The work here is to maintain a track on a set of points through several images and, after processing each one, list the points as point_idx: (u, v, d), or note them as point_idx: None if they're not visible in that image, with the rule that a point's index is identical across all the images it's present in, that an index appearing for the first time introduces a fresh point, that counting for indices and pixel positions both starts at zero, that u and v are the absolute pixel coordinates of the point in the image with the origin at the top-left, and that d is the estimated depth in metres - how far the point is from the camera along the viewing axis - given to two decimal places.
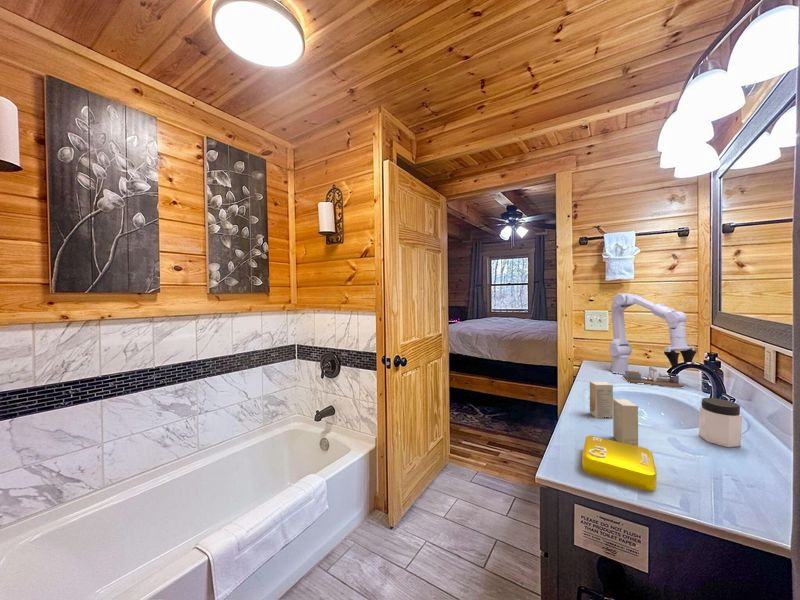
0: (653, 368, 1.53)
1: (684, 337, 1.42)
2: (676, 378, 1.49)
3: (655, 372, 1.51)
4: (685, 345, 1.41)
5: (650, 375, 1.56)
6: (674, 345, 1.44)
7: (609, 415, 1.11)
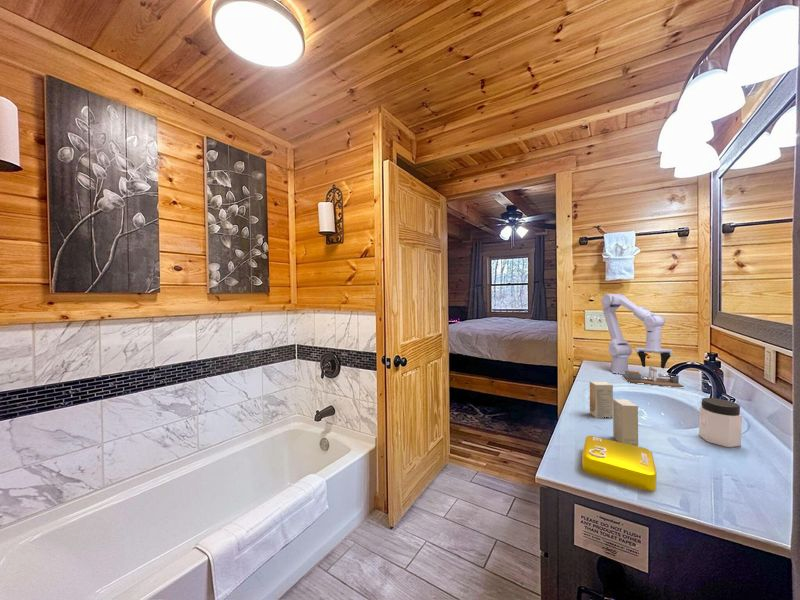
0: (653, 368, 1.53)
1: (655, 341, 1.51)
2: (676, 378, 1.49)
3: (655, 372, 1.51)
4: (655, 348, 1.51)
5: (650, 375, 1.56)
6: (646, 347, 1.54)
7: (609, 415, 1.11)
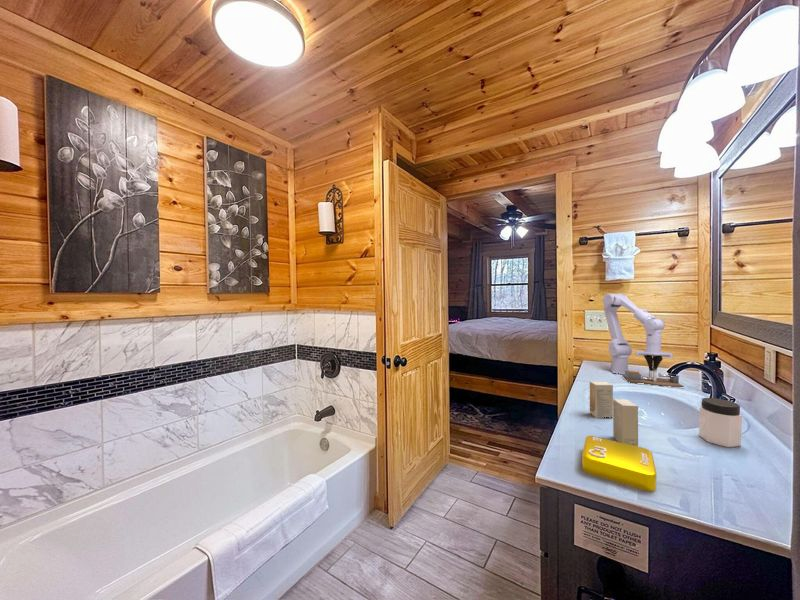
0: (653, 368, 1.53)
1: (655, 344, 1.51)
2: (676, 378, 1.49)
3: (655, 372, 1.51)
4: (655, 351, 1.51)
5: (650, 375, 1.56)
6: (646, 350, 1.54)
7: (609, 415, 1.11)
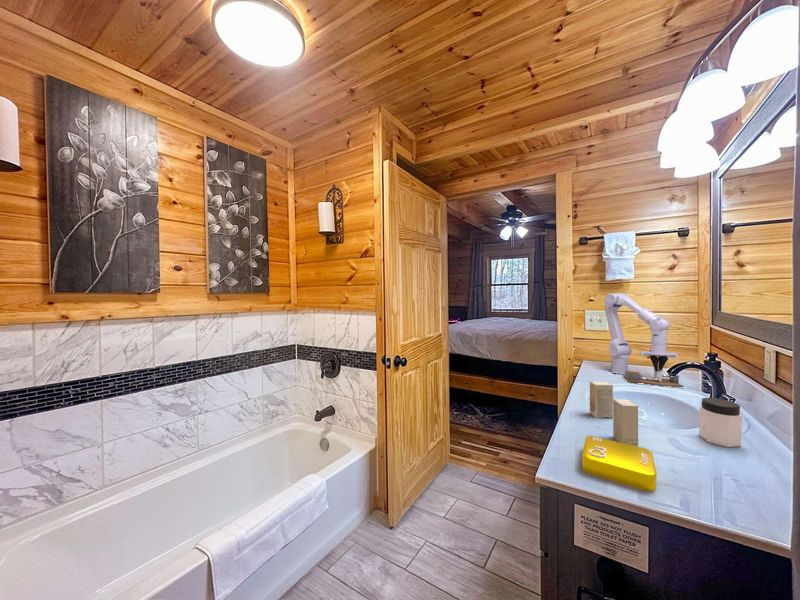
0: (658, 368, 1.52)
1: (660, 344, 1.50)
2: (676, 378, 1.49)
3: (660, 372, 1.50)
4: (660, 352, 1.50)
5: (655, 375, 1.55)
6: (651, 350, 1.53)
7: (609, 415, 1.11)
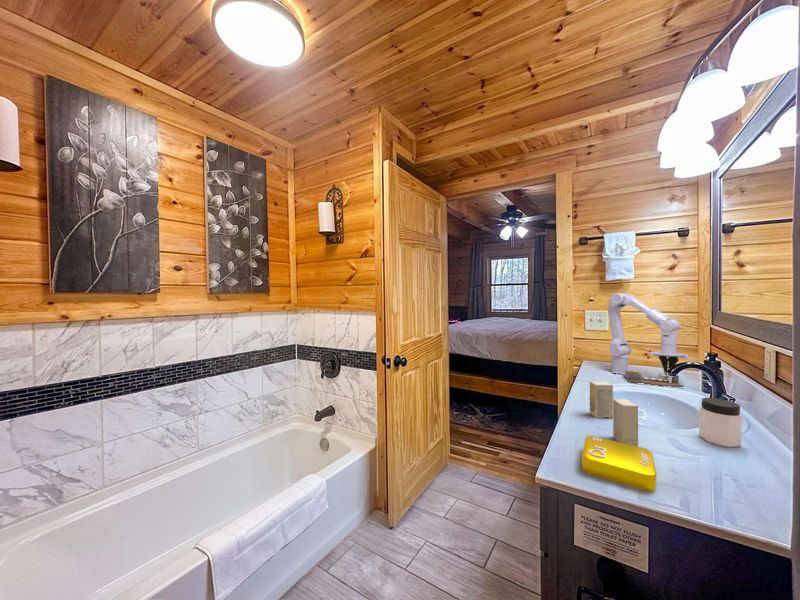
0: None
1: (670, 345, 1.48)
2: (676, 378, 1.49)
3: None
4: (670, 352, 1.48)
5: None
6: (661, 351, 1.52)
7: (609, 415, 1.11)
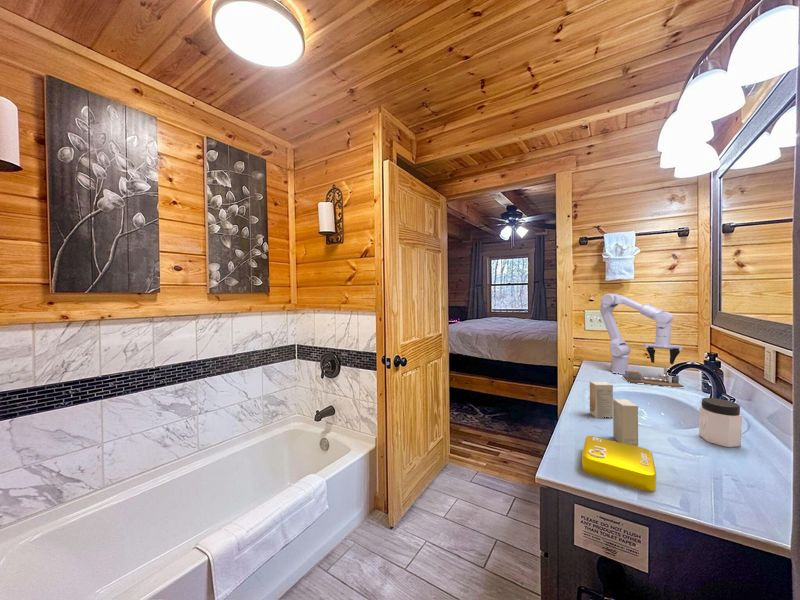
0: None
1: (664, 337, 1.52)
2: (676, 378, 1.49)
3: None
4: (665, 344, 1.52)
5: None
6: (655, 343, 1.56)
7: (609, 415, 1.11)
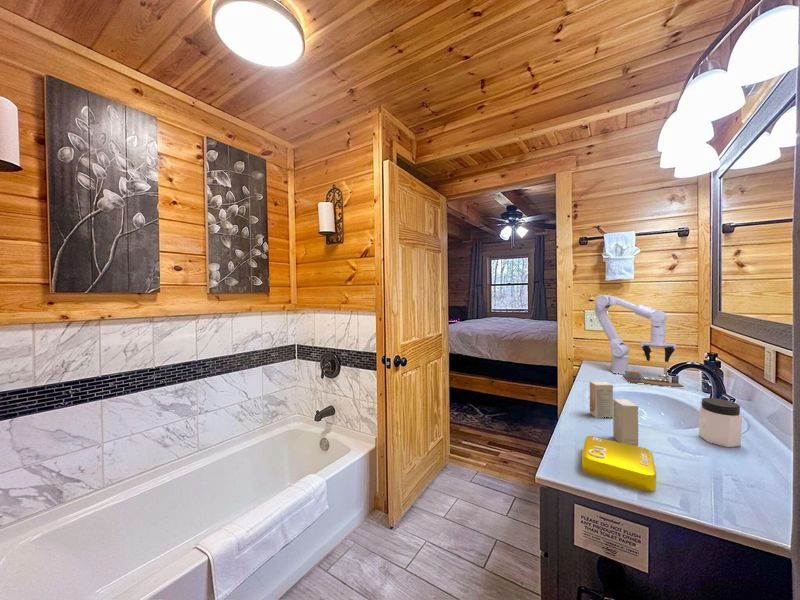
0: None
1: (659, 335, 1.56)
2: (676, 378, 1.49)
3: None
4: (660, 342, 1.56)
5: None
6: (651, 341, 1.59)
7: (609, 415, 1.11)
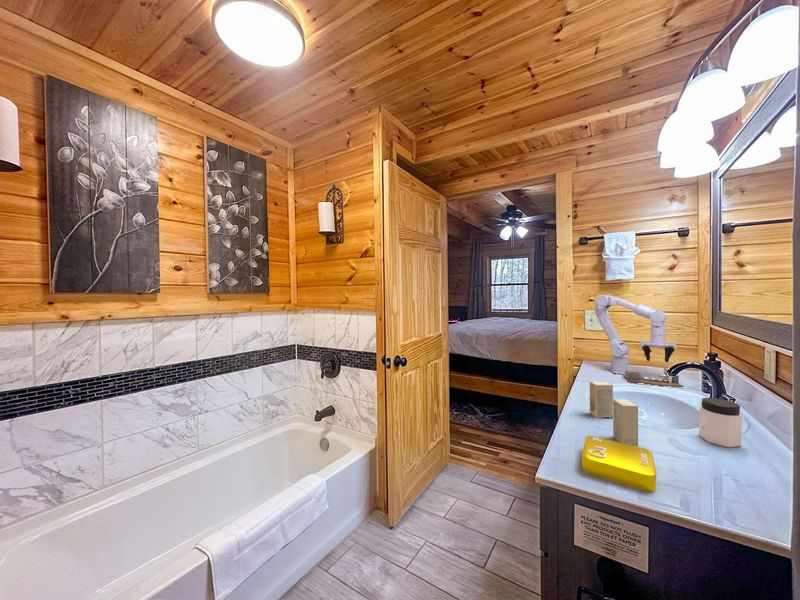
0: None
1: (659, 335, 1.56)
2: (676, 378, 1.49)
3: None
4: (660, 342, 1.56)
5: None
6: (651, 341, 1.59)
7: (609, 415, 1.11)
